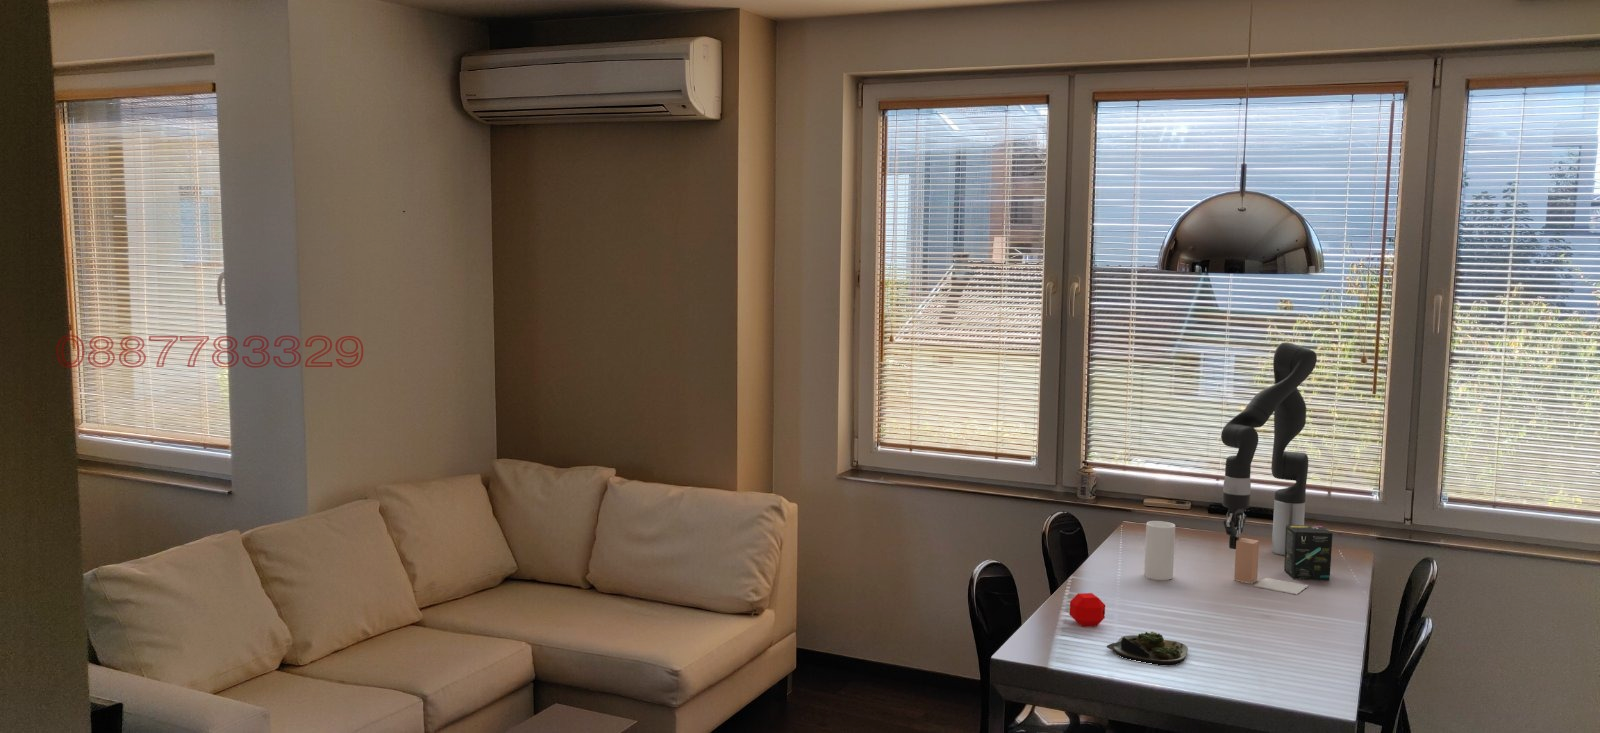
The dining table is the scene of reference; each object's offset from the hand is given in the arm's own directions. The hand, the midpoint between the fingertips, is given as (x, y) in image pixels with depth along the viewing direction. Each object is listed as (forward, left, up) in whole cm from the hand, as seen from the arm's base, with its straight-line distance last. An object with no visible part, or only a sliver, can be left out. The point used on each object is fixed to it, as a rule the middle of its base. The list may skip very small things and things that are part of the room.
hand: (1233, 548), depth 339 cm
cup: (+14, -17, -9) cm, 24 cm away
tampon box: (-18, +16, -9) cm, 26 cm away
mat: (0, +14, -9) cm, 17 cm away
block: (0, +4, -9) cm, 10 cm away
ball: (+70, -13, -9) cm, 72 cm away
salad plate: (+80, +8, -10) cm, 81 cm away
